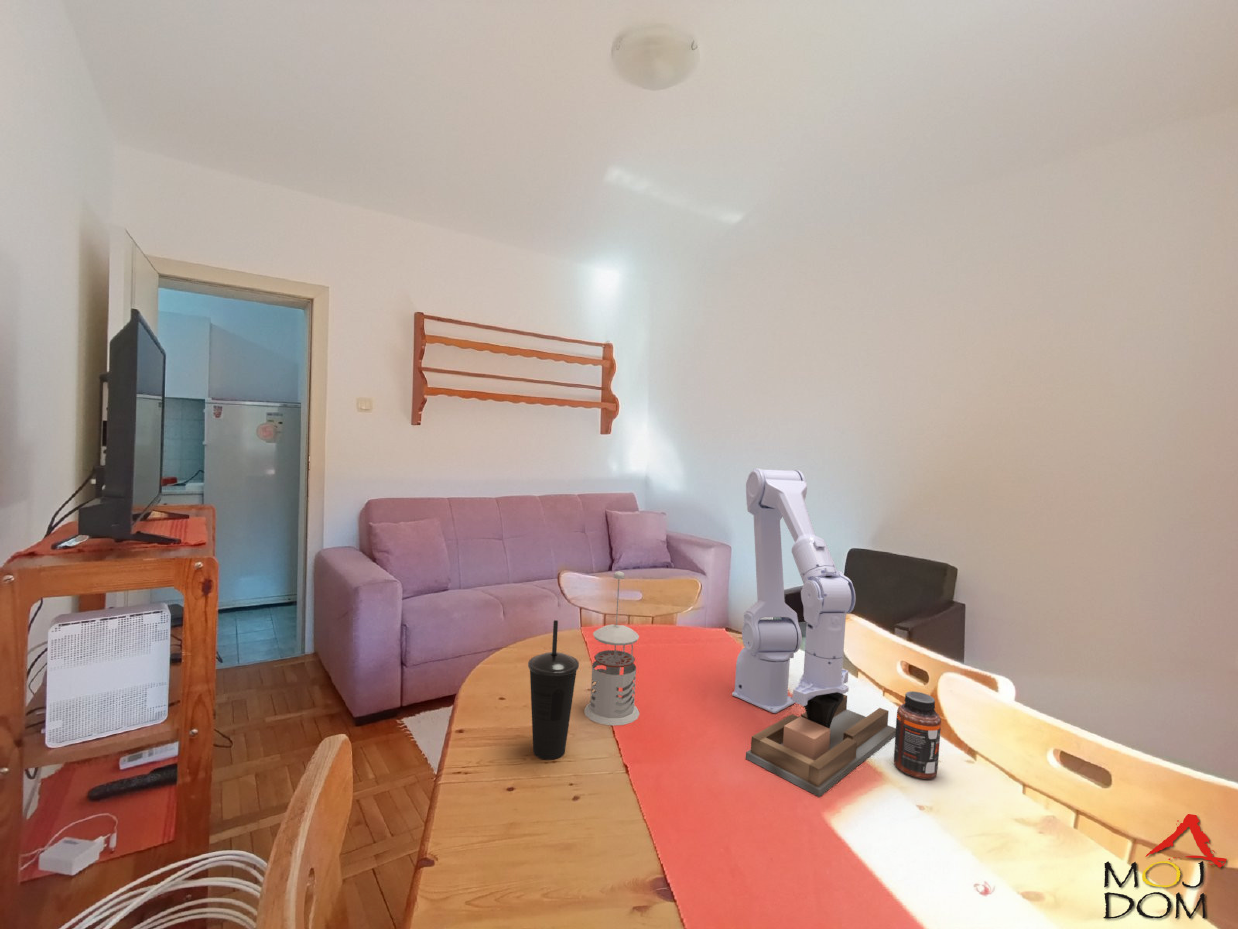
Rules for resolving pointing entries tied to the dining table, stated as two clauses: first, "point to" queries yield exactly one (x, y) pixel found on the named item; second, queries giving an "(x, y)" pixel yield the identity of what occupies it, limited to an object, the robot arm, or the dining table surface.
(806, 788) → the walled tray
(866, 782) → the dining table surface
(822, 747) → the block
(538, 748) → the drinking cup
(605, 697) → the french press
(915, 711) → the supplement bottle
